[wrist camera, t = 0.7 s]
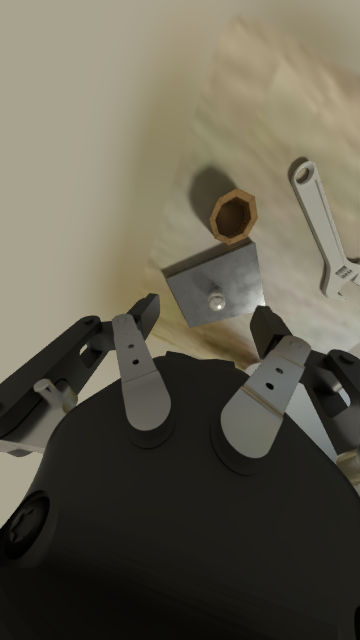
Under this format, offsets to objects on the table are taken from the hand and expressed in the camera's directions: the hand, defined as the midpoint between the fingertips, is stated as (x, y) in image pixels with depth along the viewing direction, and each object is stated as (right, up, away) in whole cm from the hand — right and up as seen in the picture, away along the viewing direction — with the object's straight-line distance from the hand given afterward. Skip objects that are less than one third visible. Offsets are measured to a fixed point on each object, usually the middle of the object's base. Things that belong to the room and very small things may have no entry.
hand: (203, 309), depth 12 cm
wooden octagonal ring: (+7, +17, +13) cm, 23 cm away
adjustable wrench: (+24, +13, +13) cm, 31 cm away
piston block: (+6, +6, +21) cm, 23 cm away
